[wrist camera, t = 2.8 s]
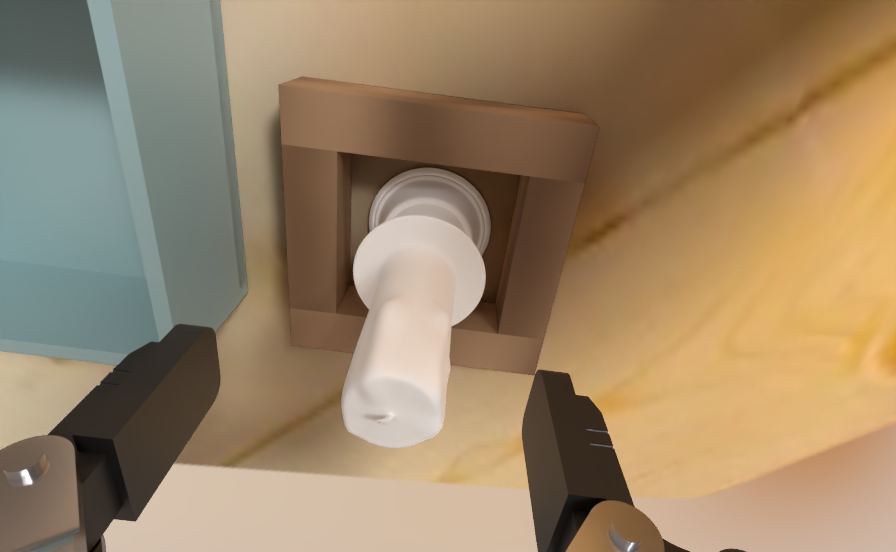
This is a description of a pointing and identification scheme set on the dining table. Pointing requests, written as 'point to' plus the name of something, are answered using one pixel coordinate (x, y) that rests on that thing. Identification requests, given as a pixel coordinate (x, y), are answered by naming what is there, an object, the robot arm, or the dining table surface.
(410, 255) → the candle
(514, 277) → the collar block
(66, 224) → the bin
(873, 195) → the dining table surface
